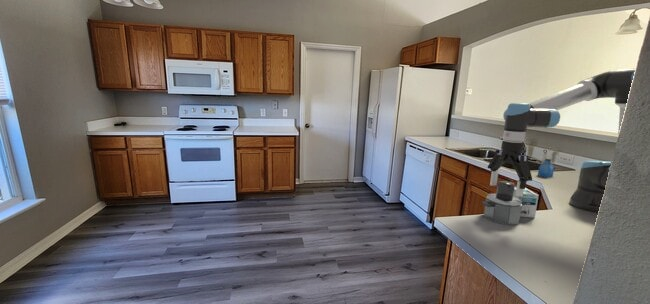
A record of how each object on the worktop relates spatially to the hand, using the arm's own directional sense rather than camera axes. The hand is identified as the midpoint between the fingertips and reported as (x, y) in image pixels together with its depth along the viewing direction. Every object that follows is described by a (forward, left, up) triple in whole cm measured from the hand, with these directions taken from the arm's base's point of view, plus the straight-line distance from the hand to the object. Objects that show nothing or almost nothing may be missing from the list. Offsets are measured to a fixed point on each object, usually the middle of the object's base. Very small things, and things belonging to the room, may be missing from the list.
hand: (505, 190), depth 115 cm
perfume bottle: (-85, -56, -13) cm, 103 cm away
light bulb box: (-14, -4, -13) cm, 20 cm away
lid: (0, 0, -7) cm, 7 cm away
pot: (0, 0, -13) cm, 13 cm away
